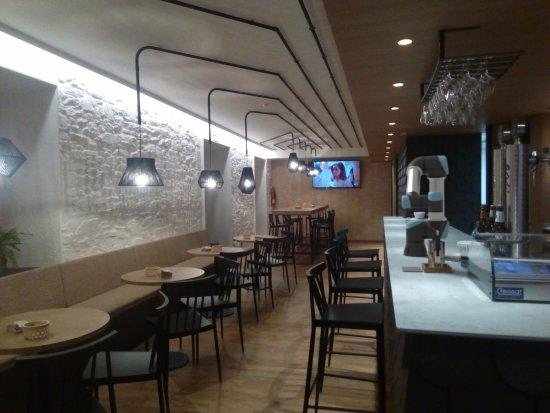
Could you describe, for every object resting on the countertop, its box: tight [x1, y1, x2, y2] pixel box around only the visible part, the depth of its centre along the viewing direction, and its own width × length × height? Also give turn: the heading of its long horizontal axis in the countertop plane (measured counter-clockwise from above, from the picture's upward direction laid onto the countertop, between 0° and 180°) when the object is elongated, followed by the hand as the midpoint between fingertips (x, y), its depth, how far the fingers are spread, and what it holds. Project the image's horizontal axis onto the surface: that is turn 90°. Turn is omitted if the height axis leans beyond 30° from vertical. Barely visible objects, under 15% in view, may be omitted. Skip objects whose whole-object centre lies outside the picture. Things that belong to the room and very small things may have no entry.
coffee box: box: [427, 239, 446, 268], centre depth 233 cm, size 9×6×16 cm
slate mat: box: [401, 266, 423, 273], centre depth 237 cm, size 12×10×1 cm
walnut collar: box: [421, 262, 453, 274], centre depth 234 cm, size 14×14×2 cm
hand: (436, 260), depth 234 cm, fingers closed on coffee box, 10 cm apart
